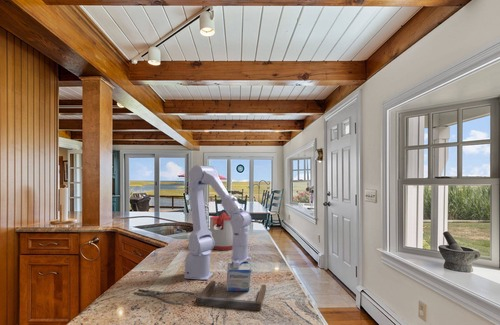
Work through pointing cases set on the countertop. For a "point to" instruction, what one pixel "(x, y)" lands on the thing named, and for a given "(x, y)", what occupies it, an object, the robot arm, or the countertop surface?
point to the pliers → (157, 293)
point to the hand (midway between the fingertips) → (239, 282)
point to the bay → (230, 303)
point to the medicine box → (238, 277)
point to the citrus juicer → (221, 232)
